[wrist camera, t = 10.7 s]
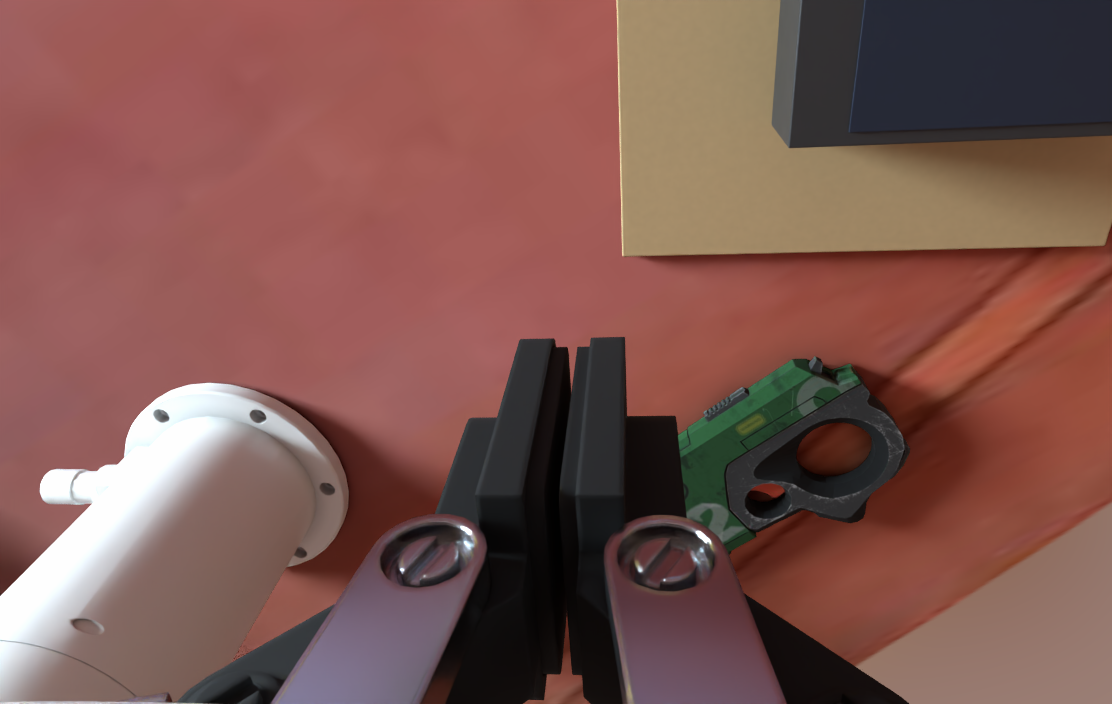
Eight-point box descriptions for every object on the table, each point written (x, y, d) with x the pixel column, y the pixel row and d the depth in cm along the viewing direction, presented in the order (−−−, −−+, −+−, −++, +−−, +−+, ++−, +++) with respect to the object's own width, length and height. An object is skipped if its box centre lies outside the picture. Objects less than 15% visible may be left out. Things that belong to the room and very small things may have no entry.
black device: (788, 149, 26) (1191, 133, 24) (808, -79, 23) (1275, -115, 21) (771, 125, 30) (1121, 110, 28) (785, -75, 26) (1183, -105, 25)
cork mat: (622, 252, 33) (622, 257, 33) (611, -248, 25) (610, -252, 24) (1097, 241, 31) (1105, 246, 30) (1264, -317, 23) (1279, -323, 22)
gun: (679, 621, 42) (562, 514, 39) (678, 601, 44) (565, 497, 41) (944, 482, 36) (828, 343, 33) (934, 464, 37) (821, 329, 34)
